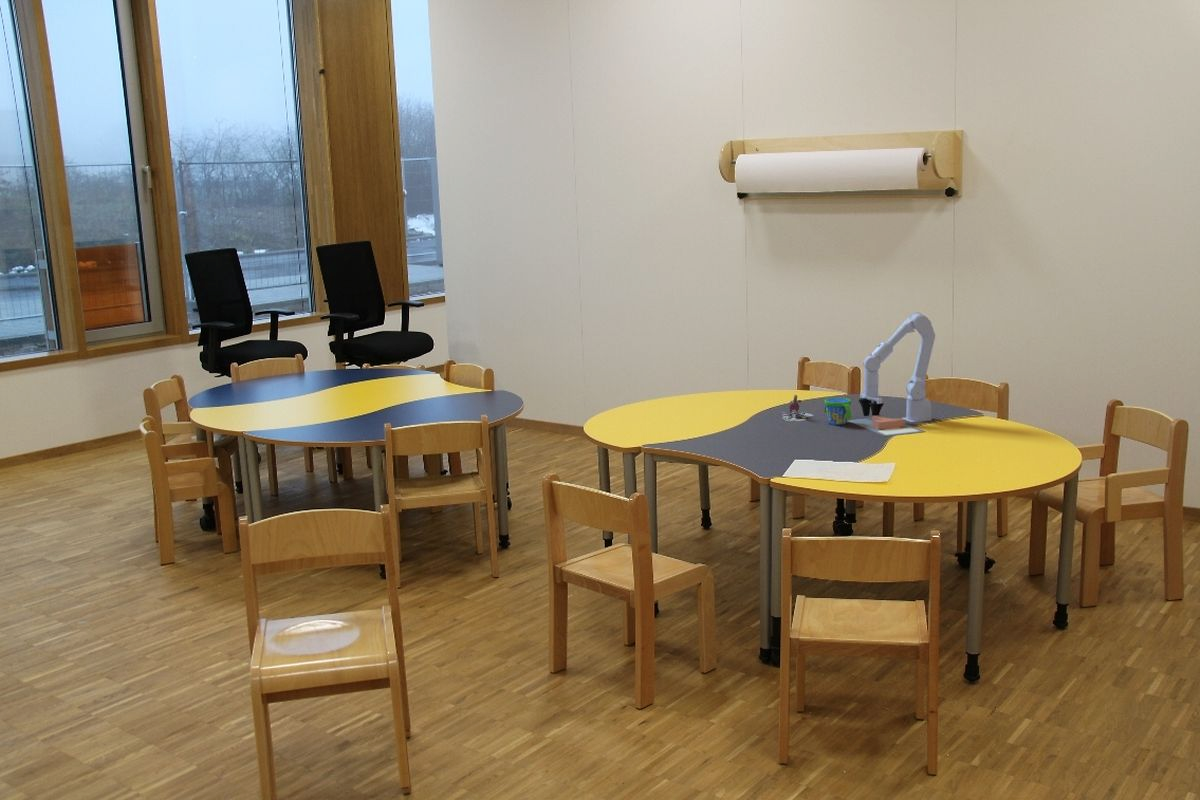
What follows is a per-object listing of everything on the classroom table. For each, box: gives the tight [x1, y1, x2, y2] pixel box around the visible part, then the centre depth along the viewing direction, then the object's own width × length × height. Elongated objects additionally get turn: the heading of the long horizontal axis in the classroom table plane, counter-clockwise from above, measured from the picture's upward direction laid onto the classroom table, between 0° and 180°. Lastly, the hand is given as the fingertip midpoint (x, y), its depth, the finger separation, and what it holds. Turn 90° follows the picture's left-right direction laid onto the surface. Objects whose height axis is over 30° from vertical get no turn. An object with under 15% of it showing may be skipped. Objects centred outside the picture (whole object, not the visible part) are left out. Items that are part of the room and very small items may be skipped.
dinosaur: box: [782, 394, 815, 422], centre depth 480 cm, size 18×18×11 cm
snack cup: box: [823, 396, 852, 426], centre depth 464 cm, size 16×10×10 cm
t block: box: [871, 414, 906, 430], centre depth 458 cm, size 12×12×3 cm
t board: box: [847, 415, 926, 438], centre depth 458 cm, size 18×30×1 cm, turn 17°
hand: (870, 417), depth 468 cm, fingers open, 7 cm apart
